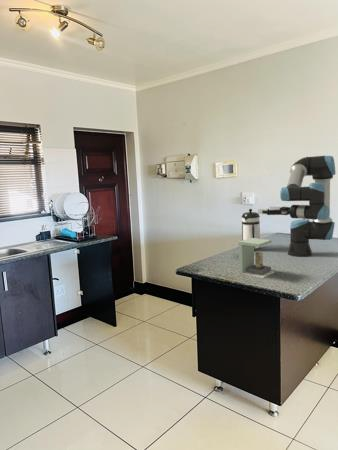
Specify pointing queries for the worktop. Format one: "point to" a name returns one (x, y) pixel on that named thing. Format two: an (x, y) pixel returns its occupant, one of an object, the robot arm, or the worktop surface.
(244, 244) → the awning socket
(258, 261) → the peg
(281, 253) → the worktop surface
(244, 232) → the coffee press
